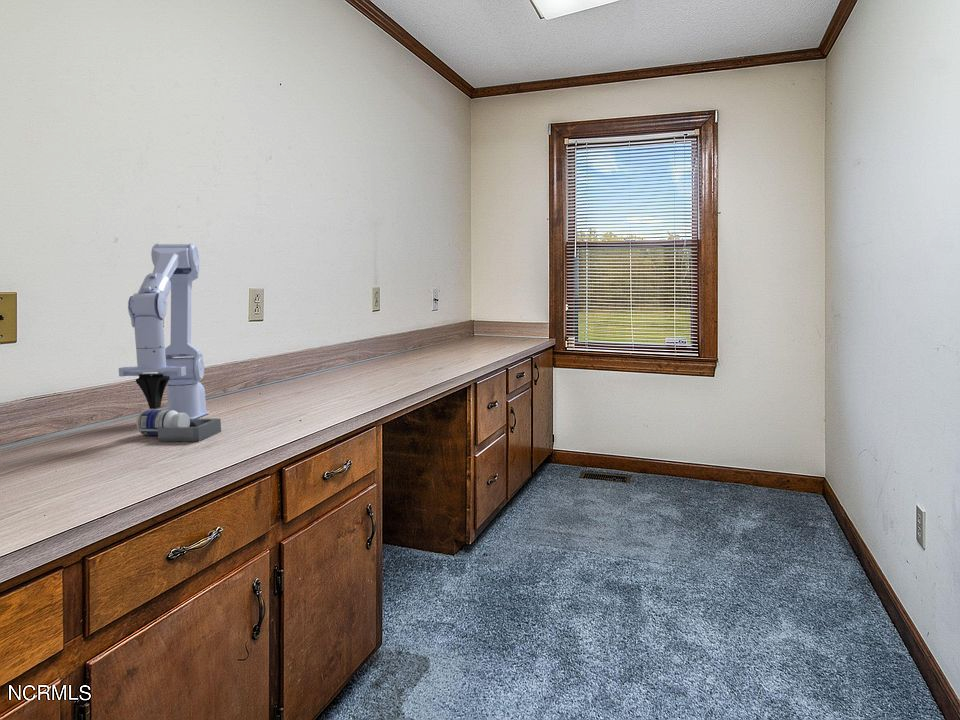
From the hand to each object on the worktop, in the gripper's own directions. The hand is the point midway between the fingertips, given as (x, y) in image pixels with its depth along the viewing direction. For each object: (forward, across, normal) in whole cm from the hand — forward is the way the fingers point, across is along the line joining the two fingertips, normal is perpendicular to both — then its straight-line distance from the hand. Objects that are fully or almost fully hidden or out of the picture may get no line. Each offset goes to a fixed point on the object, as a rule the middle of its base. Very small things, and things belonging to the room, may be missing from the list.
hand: (155, 408), depth 144 cm
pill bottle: (+3, -4, +1) cm, 5 cm away
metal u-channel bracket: (+6, +7, 0) cm, 10 cm away
